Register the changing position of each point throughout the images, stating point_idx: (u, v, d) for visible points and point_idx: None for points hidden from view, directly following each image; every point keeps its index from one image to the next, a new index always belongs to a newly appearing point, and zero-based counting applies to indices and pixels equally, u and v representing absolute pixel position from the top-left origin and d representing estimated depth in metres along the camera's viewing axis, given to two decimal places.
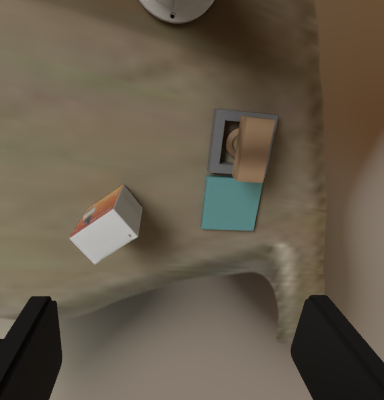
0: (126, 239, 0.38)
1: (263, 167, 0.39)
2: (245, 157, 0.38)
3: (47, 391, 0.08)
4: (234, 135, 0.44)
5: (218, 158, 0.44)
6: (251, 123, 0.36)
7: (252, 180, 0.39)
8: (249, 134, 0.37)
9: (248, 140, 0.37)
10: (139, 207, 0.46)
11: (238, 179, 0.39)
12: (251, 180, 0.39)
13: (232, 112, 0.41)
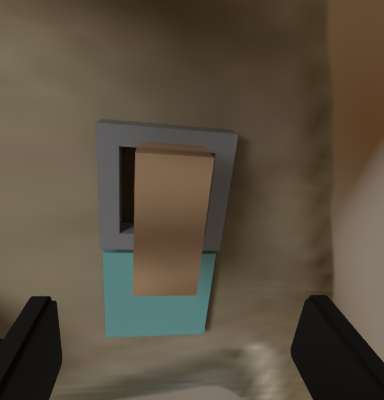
0: None
1: (194, 265, 0.16)
2: (145, 246, 0.15)
3: (47, 391, 0.08)
4: None
5: (116, 222, 0.21)
6: (149, 168, 0.14)
7: (170, 292, 0.17)
8: (148, 194, 0.14)
9: (147, 208, 0.14)
10: None
11: (135, 292, 0.16)
12: (168, 292, 0.17)
13: (132, 130, 0.18)
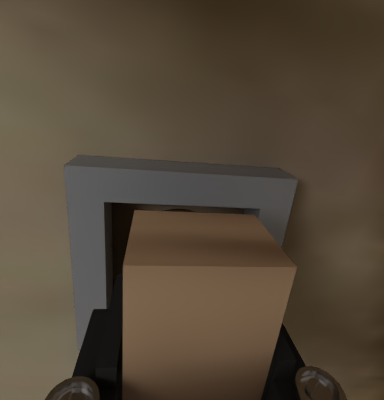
0: None
1: None
2: None
3: None
4: None
5: None
6: (155, 293, 0.06)
7: None
8: (152, 341, 0.07)
9: (150, 364, 0.07)
10: None
11: None
12: None
13: (126, 176, 0.11)
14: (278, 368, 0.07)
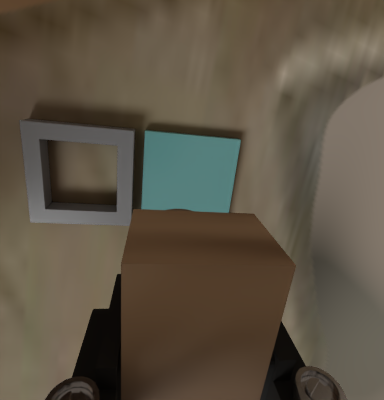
0: None
1: None
2: None
3: None
4: None
5: (107, 214, 0.28)
6: (154, 291, 0.06)
7: None
8: (150, 340, 0.07)
9: (149, 363, 0.07)
10: None
11: None
12: None
13: (31, 200, 0.26)
14: (278, 368, 0.07)
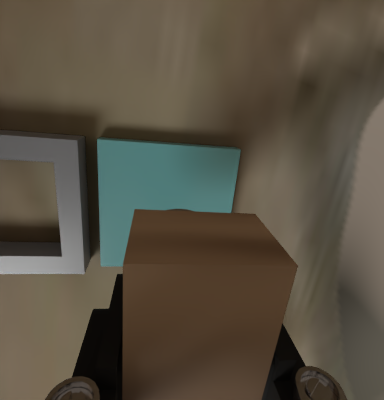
0: None
1: None
2: None
3: None
4: None
5: (48, 259, 0.19)
6: (156, 291, 0.06)
7: None
8: (152, 340, 0.07)
9: (151, 364, 0.07)
10: None
11: None
12: None
13: None
14: (278, 368, 0.07)
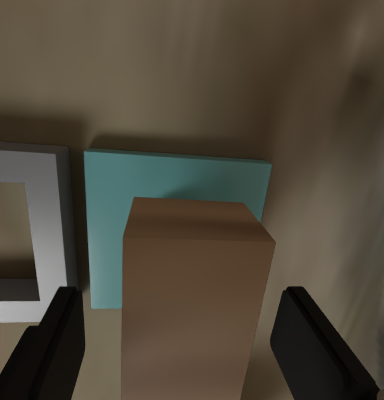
0: None
1: None
2: (143, 389, 0.09)
3: (75, 375, 0.09)
4: None
5: (22, 304, 0.15)
6: (151, 263, 0.07)
7: None
8: (147, 308, 0.07)
9: (146, 331, 0.08)
10: None
11: None
12: None
13: None
14: (356, 391, 0.07)
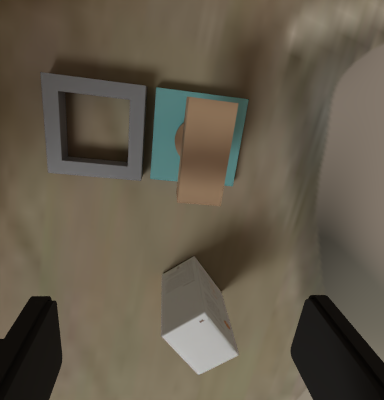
0: (207, 324, 0.28)
1: (220, 181, 0.24)
2: (189, 164, 0.23)
3: (47, 391, 0.08)
4: None
5: (119, 168, 0.30)
6: (197, 107, 0.21)
7: (203, 201, 0.24)
8: (194, 126, 0.22)
9: (193, 136, 0.22)
10: (189, 264, 0.36)
11: (179, 199, 0.24)
12: (201, 201, 0.24)
13: (49, 150, 0.28)
14: None
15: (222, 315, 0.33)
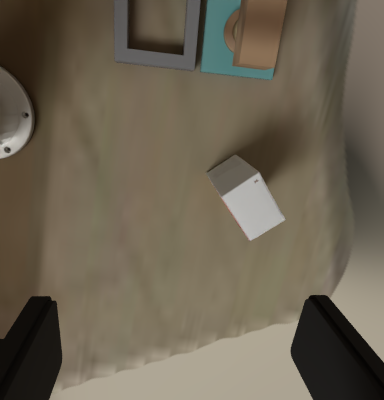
0: (260, 185, 0.32)
1: (275, 42, 0.28)
2: (251, 24, 0.27)
3: (47, 391, 0.08)
4: (235, 18, 0.33)
5: (176, 56, 0.34)
6: None
7: (260, 63, 0.29)
8: None
9: None
10: (232, 158, 0.40)
11: (241, 60, 0.28)
12: (259, 62, 0.29)
13: (117, 38, 0.32)
14: None
15: None
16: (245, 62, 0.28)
